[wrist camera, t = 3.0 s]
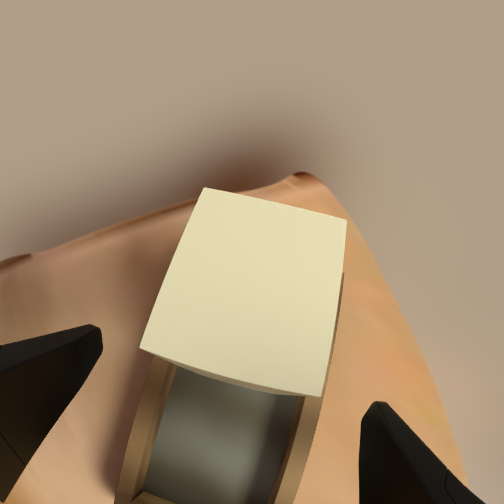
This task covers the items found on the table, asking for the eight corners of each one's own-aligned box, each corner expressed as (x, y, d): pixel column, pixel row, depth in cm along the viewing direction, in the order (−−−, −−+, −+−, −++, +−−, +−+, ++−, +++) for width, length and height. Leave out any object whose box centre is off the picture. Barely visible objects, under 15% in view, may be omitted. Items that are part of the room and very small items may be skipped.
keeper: (272, 393, 15) (320, 396, 6) (200, 374, 15) (139, 347, 6) (291, 316, 17) (347, 220, 8) (223, 300, 18) (204, 187, 8)
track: (265, 546, 10) (272, 582, 6) (124, 506, 11) (93, 529, 7) (333, 290, 20) (358, 259, 15) (199, 258, 21) (189, 219, 16)
